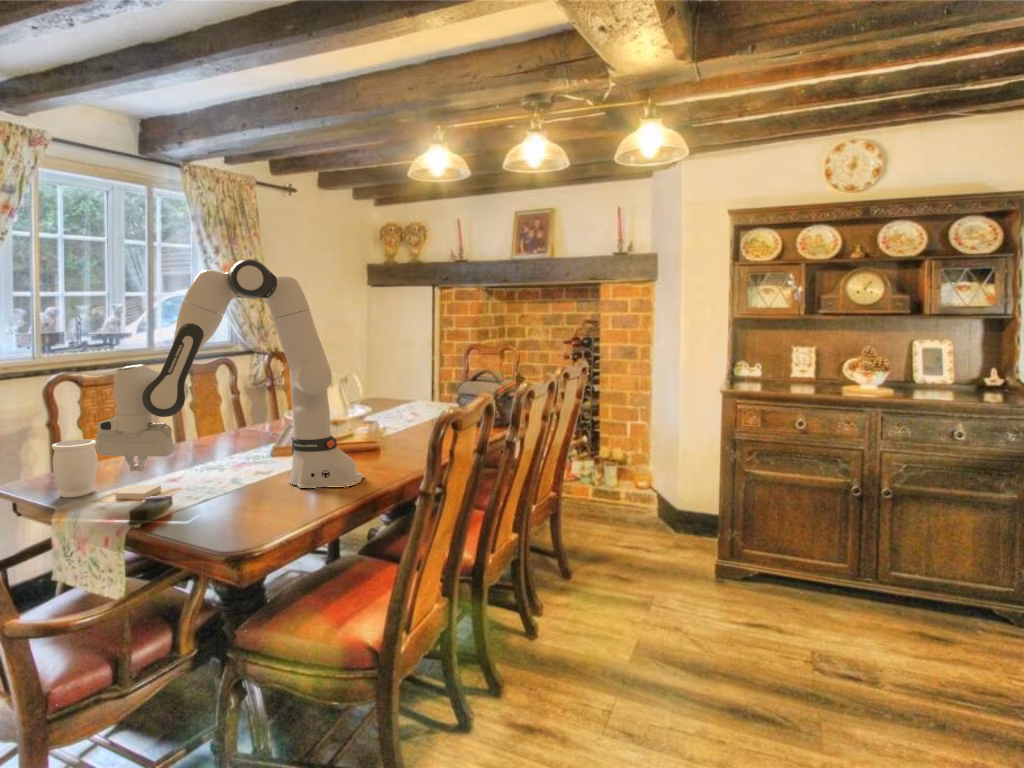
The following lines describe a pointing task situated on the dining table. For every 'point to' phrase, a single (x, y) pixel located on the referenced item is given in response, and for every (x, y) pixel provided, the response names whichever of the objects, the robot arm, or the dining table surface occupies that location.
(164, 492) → the cork mat
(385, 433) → the dining table surface
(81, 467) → the jar
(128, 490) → the beige flat block
